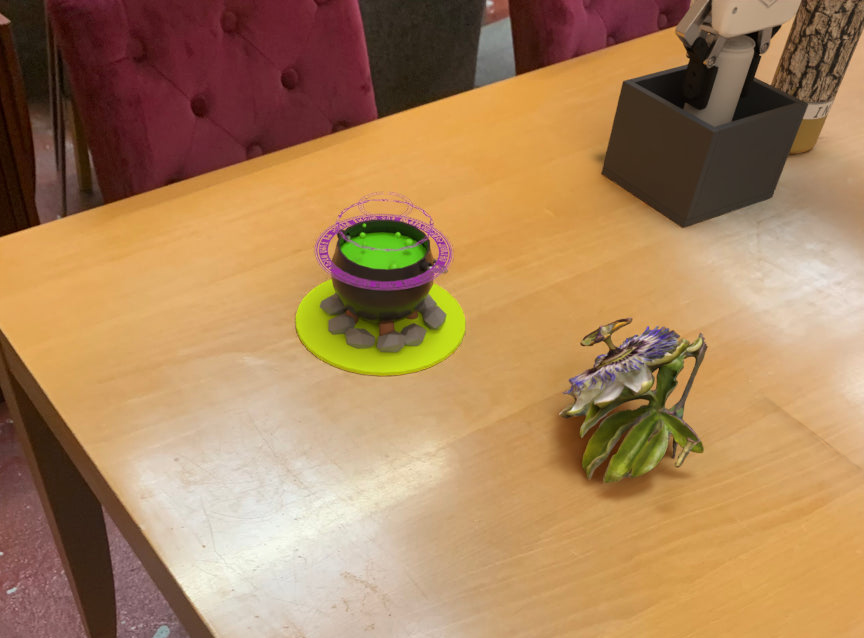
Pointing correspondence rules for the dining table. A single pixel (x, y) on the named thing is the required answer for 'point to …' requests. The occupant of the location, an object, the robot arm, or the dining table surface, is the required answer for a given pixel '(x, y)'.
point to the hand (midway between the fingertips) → (713, 96)
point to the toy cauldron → (381, 299)
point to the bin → (699, 148)
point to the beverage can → (726, 80)
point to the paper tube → (818, 60)
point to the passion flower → (631, 380)
